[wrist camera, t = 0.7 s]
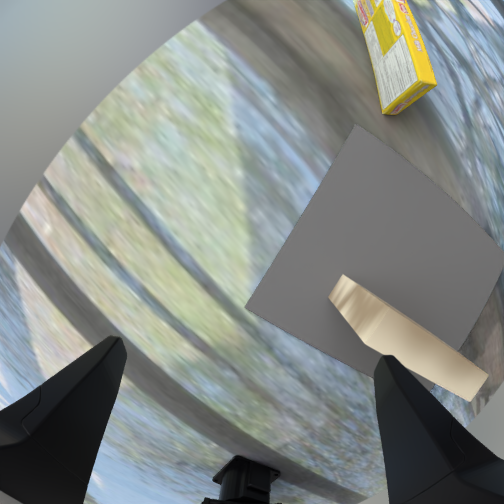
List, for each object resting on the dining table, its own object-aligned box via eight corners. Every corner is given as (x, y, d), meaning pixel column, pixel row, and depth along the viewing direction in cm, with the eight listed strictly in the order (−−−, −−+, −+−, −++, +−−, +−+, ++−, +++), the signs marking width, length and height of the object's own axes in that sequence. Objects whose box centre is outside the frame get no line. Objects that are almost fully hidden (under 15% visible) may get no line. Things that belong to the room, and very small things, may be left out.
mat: (420, 400, 27) (421, 401, 27) (244, 306, 27) (244, 307, 27) (506, 256, 25) (507, 256, 25) (355, 124, 25) (356, 123, 25)
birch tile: (415, 350, 27) (469, 401, 16) (327, 297, 26) (364, 344, 15) (428, 330, 26) (488, 375, 15) (342, 274, 26) (389, 307, 15)
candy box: (399, 116, 25) (439, 86, 16) (381, 115, 25) (417, 82, 17) (367, 1, 23) (387, -40, 15) (351, -1, 23) (368, -45, 15)
